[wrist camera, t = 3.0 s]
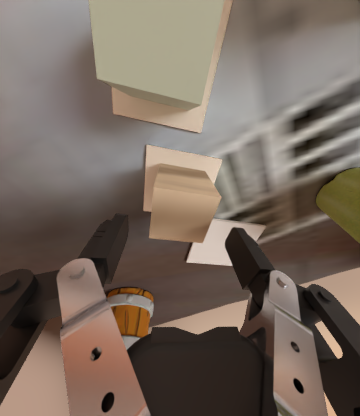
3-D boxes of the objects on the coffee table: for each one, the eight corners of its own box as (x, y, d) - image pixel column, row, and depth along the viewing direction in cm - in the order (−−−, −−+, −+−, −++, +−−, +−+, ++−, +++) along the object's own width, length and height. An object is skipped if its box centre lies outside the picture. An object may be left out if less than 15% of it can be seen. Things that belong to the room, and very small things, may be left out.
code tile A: (147, 144, 14) (146, 145, 13) (221, 159, 15) (222, 159, 14) (143, 209, 18) (143, 210, 18) (201, 216, 19) (201, 218, 19)
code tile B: (103, -54, 8) (101, -60, 7) (233, -4, 9) (234, -8, 9) (114, 113, 12) (113, 113, 12) (200, 132, 13) (200, 133, 13)
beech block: (160, 163, 14) (153, 187, 9) (205, 171, 15) (221, 197, 10) (155, 202, 17) (149, 237, 12) (194, 208, 18) (202, 243, 13)
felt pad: (201, 216, 19) (202, 218, 19) (264, 224, 20) (266, 226, 20) (186, 260, 24) (186, 262, 24) (237, 264, 26) (238, 266, 25)
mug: (158, 287, 29) (148, 412, 17) (147, 316, 38) (135, 413, 26) (105, 282, 27) (50, 420, 15) (107, 314, 36) (72, 418, 24)
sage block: (129, -5, 8) (68, -180, 3) (205, 21, 9) (244, -93, 4) (130, 96, 11) (96, 78, 6) (189, 110, 12) (201, 104, 7)
